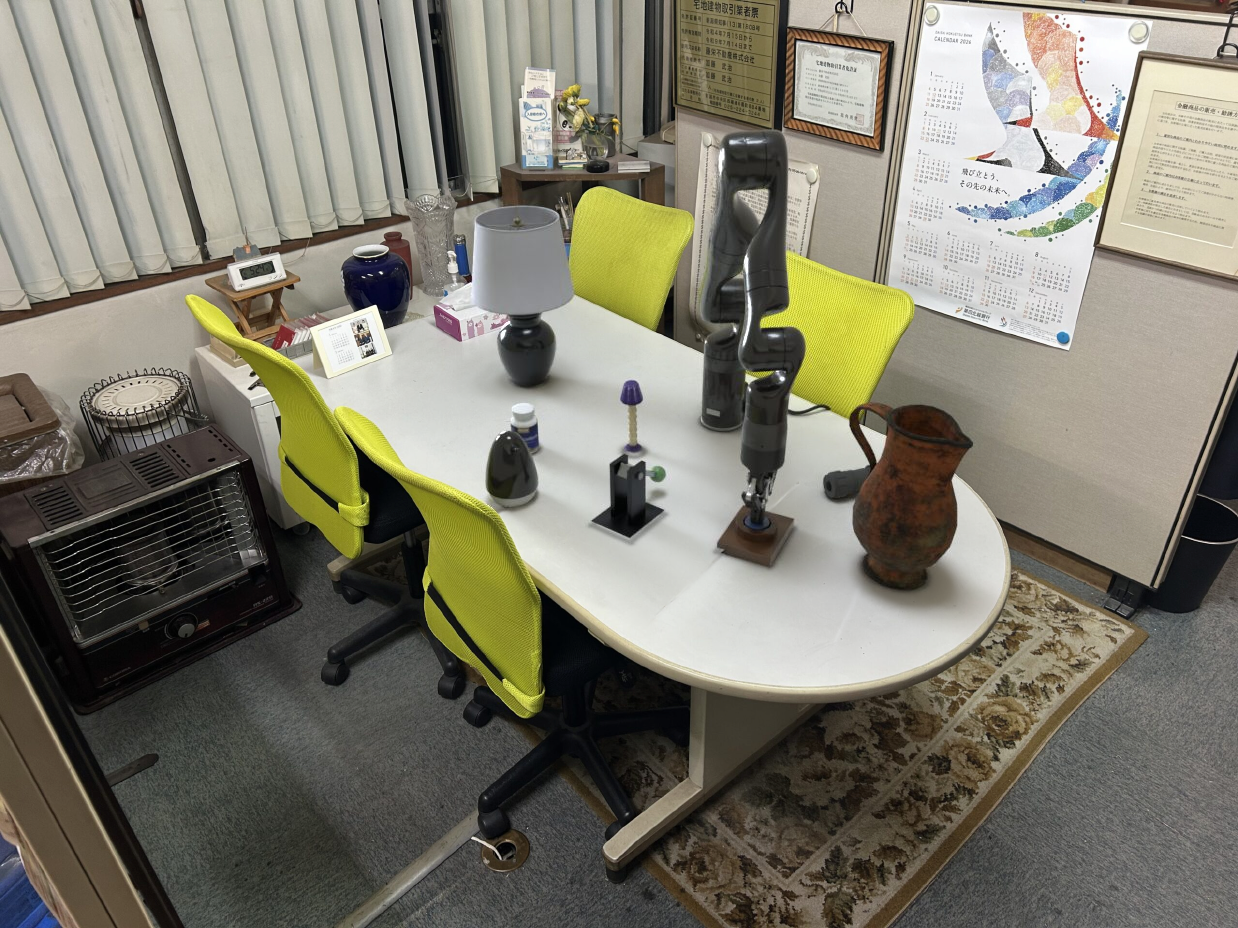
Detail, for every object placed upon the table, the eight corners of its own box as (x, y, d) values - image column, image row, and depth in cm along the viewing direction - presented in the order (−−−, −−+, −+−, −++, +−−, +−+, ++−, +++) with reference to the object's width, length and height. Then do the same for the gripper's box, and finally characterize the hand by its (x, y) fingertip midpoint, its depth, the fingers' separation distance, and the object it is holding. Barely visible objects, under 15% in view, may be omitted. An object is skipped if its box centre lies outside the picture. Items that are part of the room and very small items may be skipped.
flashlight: (832, 505, 171) (835, 481, 168) (819, 490, 175) (821, 467, 172) (902, 490, 175) (906, 467, 172) (887, 476, 179) (891, 453, 176)
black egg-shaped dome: (499, 521, 168) (491, 452, 160) (480, 493, 176) (472, 427, 168) (548, 506, 172) (543, 438, 164) (527, 480, 180) (522, 414, 172)
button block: (742, 514, 169) (743, 496, 167) (793, 528, 165) (795, 510, 163) (716, 551, 159) (717, 533, 157) (769, 567, 155) (771, 549, 153)
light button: (749, 519, 163) (749, 511, 162) (772, 525, 161) (772, 517, 160) (740, 532, 160) (741, 524, 159) (763, 538, 158) (764, 530, 157)
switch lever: (652, 479, 173) (657, 464, 173) (665, 484, 172) (670, 469, 171) (614, 476, 162) (619, 459, 161) (628, 481, 160) (633, 465, 160)
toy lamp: (640, 459, 186) (640, 388, 177) (619, 457, 187) (617, 386, 178) (644, 448, 190) (645, 378, 181) (623, 446, 191) (622, 376, 182)
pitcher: (910, 616, 144) (943, 459, 128) (805, 556, 157) (824, 407, 142) (965, 573, 153) (1002, 421, 137) (861, 519, 167) (884, 376, 151)
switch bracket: (626, 498, 174) (626, 442, 167) (664, 514, 169) (665, 457, 162) (591, 525, 166) (589, 467, 159) (629, 542, 162) (629, 484, 155)
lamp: (596, 371, 221) (591, 212, 200) (539, 411, 204) (527, 241, 183) (520, 351, 232) (508, 197, 211) (460, 387, 215) (440, 224, 194)
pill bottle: (520, 458, 187) (516, 417, 182) (508, 446, 191) (504, 406, 186) (544, 450, 189) (541, 409, 184) (531, 439, 194) (528, 398, 188)
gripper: (772, 461, 144) (764, 547, 153) (797, 425, 154) (788, 508, 163) (729, 451, 147) (723, 535, 156) (756, 416, 157) (750, 497, 166)
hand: (757, 521), depth 160 cm, fingers closed
